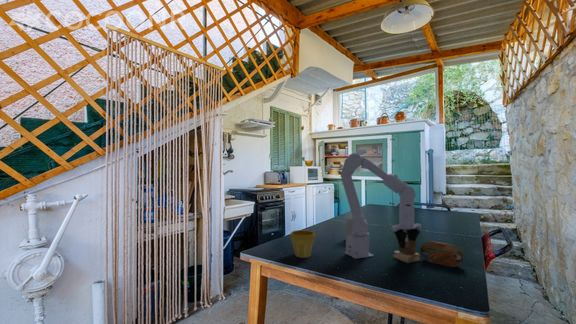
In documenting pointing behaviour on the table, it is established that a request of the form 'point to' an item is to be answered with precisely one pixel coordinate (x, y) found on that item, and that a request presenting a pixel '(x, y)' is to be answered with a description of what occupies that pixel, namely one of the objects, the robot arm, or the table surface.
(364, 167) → the robot arm
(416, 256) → the oak block
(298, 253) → the plant pot
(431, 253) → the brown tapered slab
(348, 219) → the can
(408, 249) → the walnut block
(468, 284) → the table surface
